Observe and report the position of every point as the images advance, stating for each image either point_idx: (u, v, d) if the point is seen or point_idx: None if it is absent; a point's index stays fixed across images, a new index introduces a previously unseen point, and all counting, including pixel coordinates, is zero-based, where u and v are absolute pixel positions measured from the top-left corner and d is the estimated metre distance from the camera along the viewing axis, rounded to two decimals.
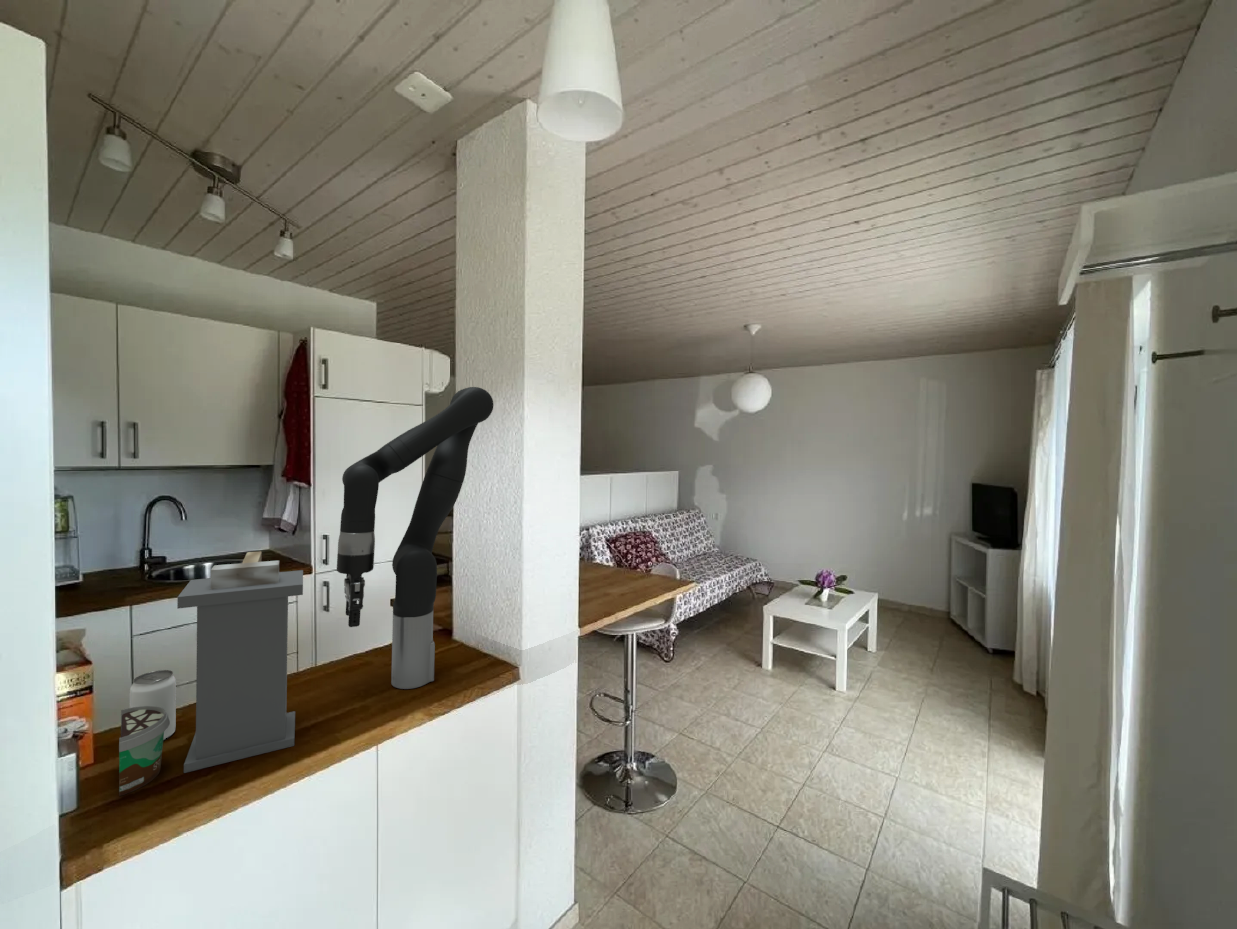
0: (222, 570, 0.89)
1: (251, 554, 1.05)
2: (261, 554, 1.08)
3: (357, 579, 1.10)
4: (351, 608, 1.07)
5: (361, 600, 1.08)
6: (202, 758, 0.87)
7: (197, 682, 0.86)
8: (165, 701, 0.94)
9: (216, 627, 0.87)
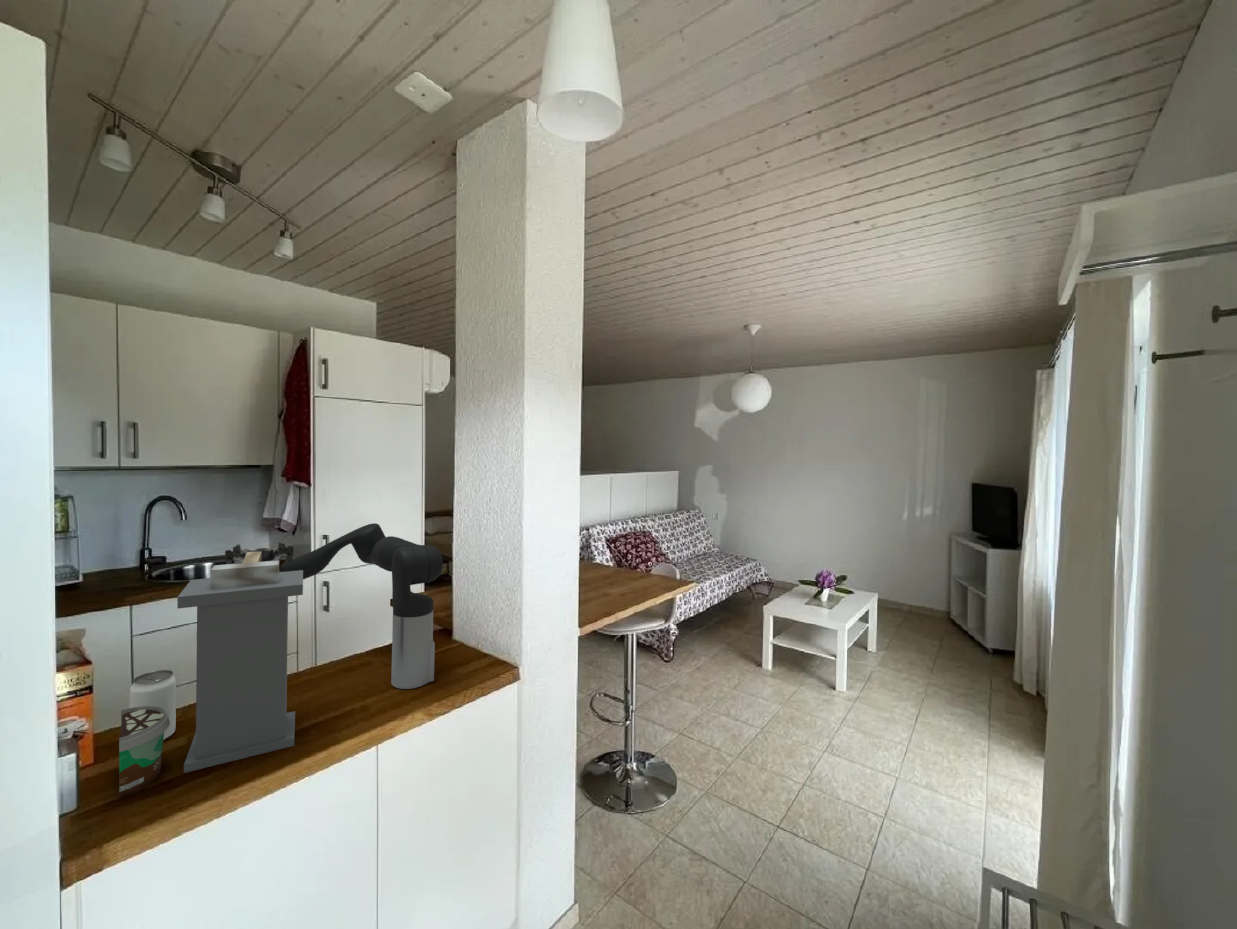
0: (222, 570, 0.89)
1: (251, 554, 1.05)
2: (261, 554, 1.08)
3: None
4: (292, 547, 1.31)
5: None
6: (202, 758, 0.87)
7: (197, 682, 0.86)
8: (165, 701, 0.94)
9: (216, 627, 0.87)
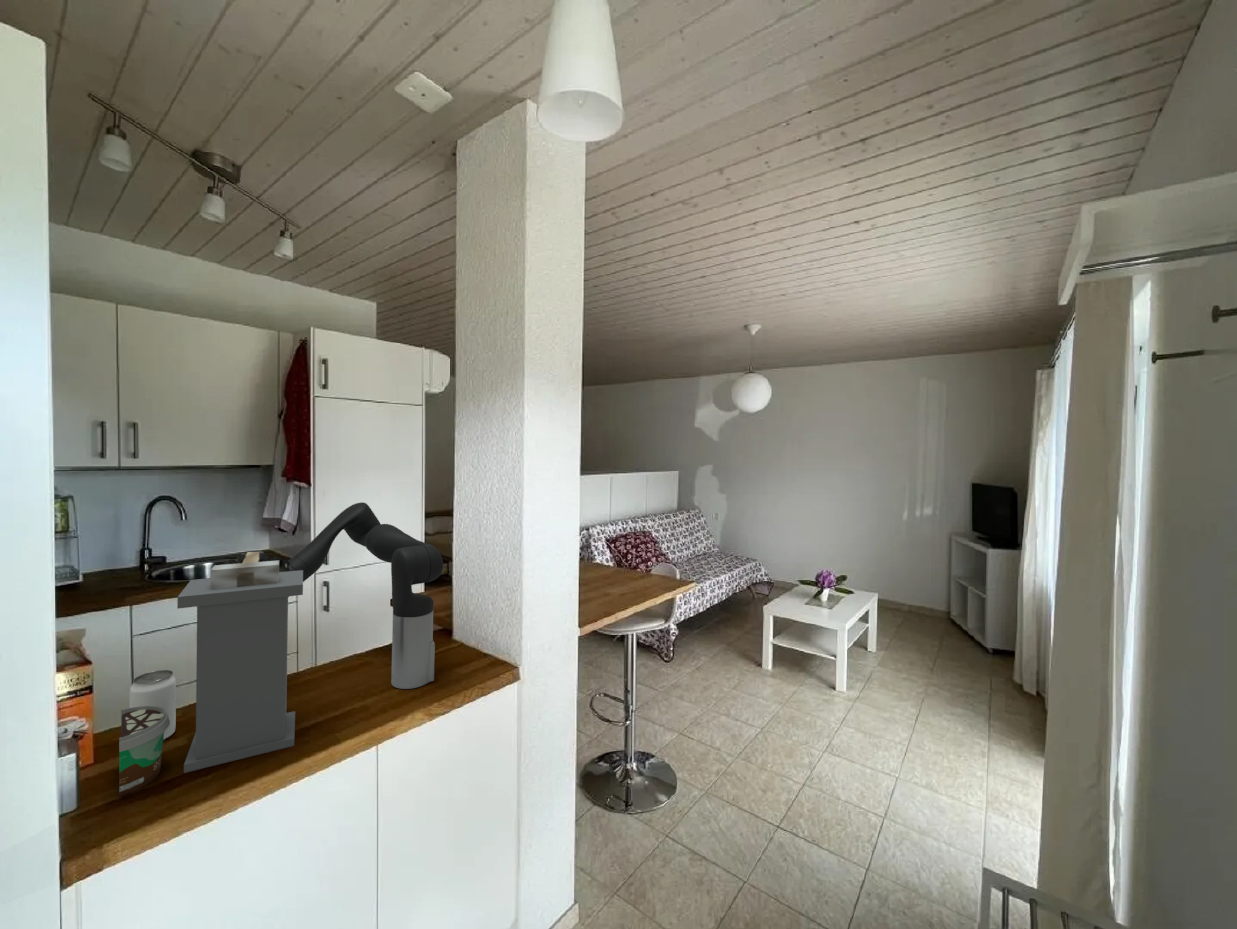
0: (222, 570, 0.89)
1: (251, 554, 1.05)
2: None
3: None
4: (277, 558, 1.09)
5: (281, 567, 1.09)
6: (202, 758, 0.87)
7: (197, 682, 0.86)
8: (165, 701, 0.94)
9: (216, 627, 0.87)
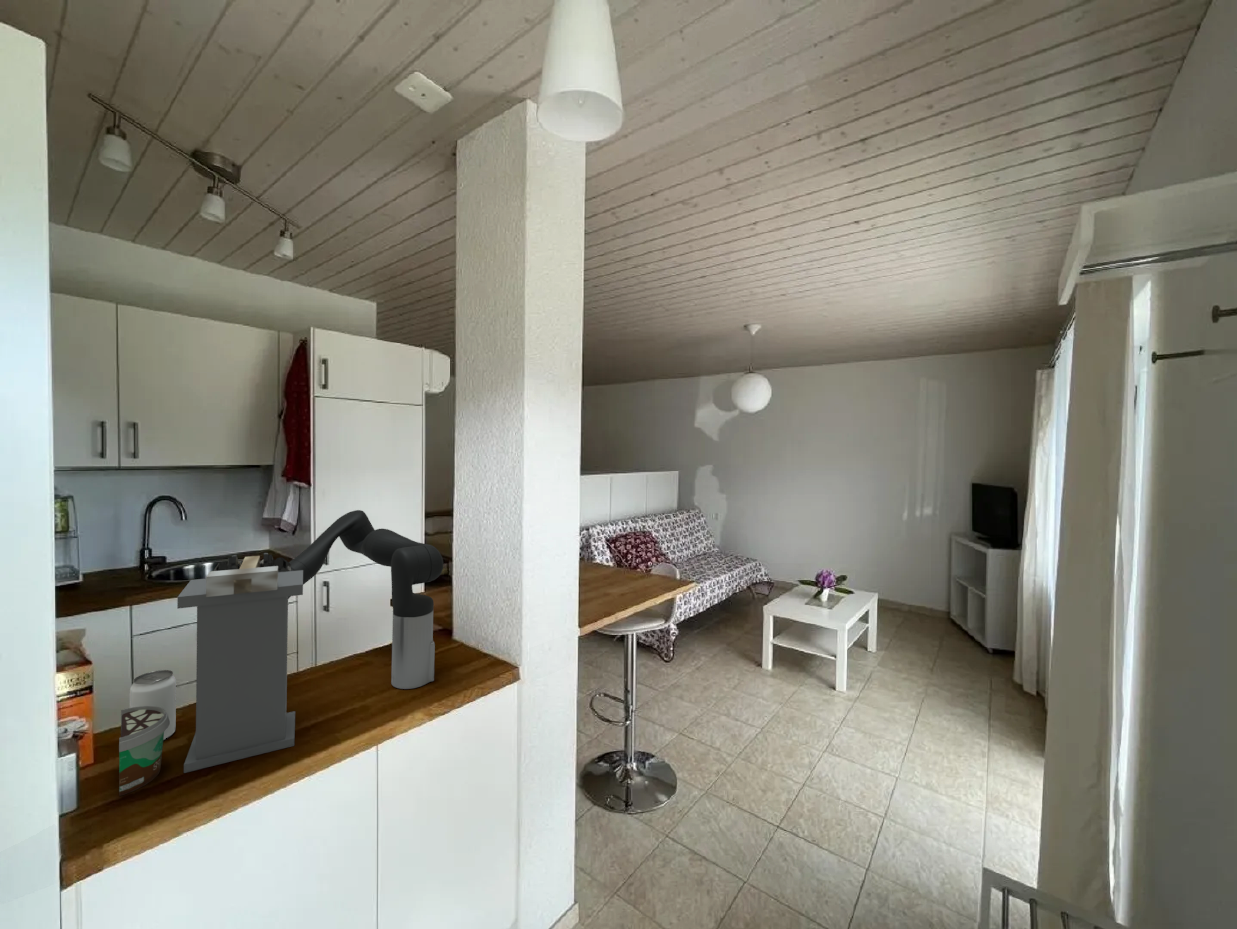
0: (218, 576, 0.85)
1: (249, 559, 1.01)
2: (259, 559, 1.04)
3: None
4: (282, 559, 1.05)
5: (284, 569, 1.06)
6: (202, 758, 0.87)
7: (197, 682, 0.86)
8: (165, 701, 0.94)
9: (216, 627, 0.87)
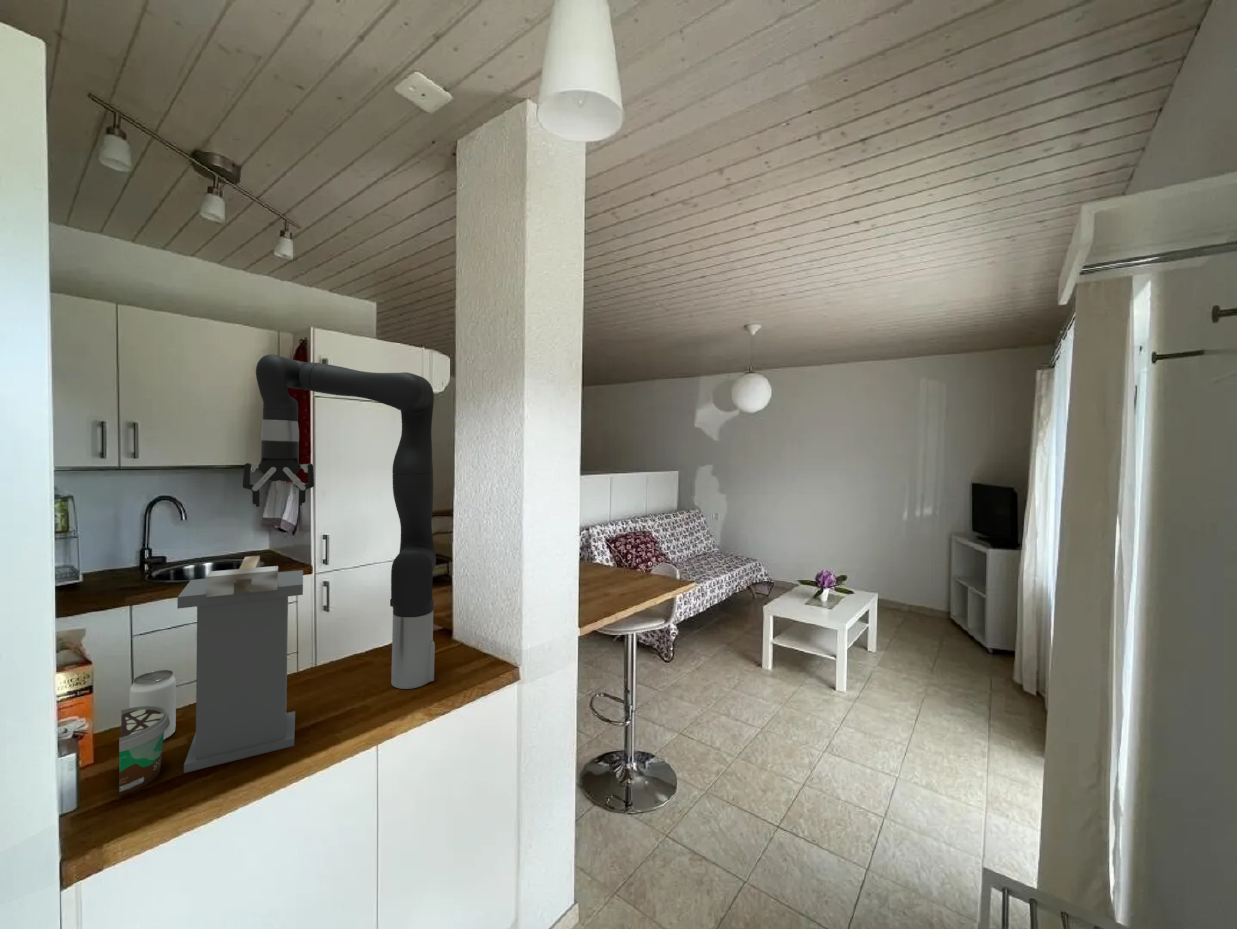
0: (218, 576, 0.85)
1: (249, 559, 1.01)
2: (259, 559, 1.04)
3: None
4: None
5: None
6: (202, 758, 0.87)
7: (197, 682, 0.86)
8: (165, 701, 0.94)
9: (216, 627, 0.87)
